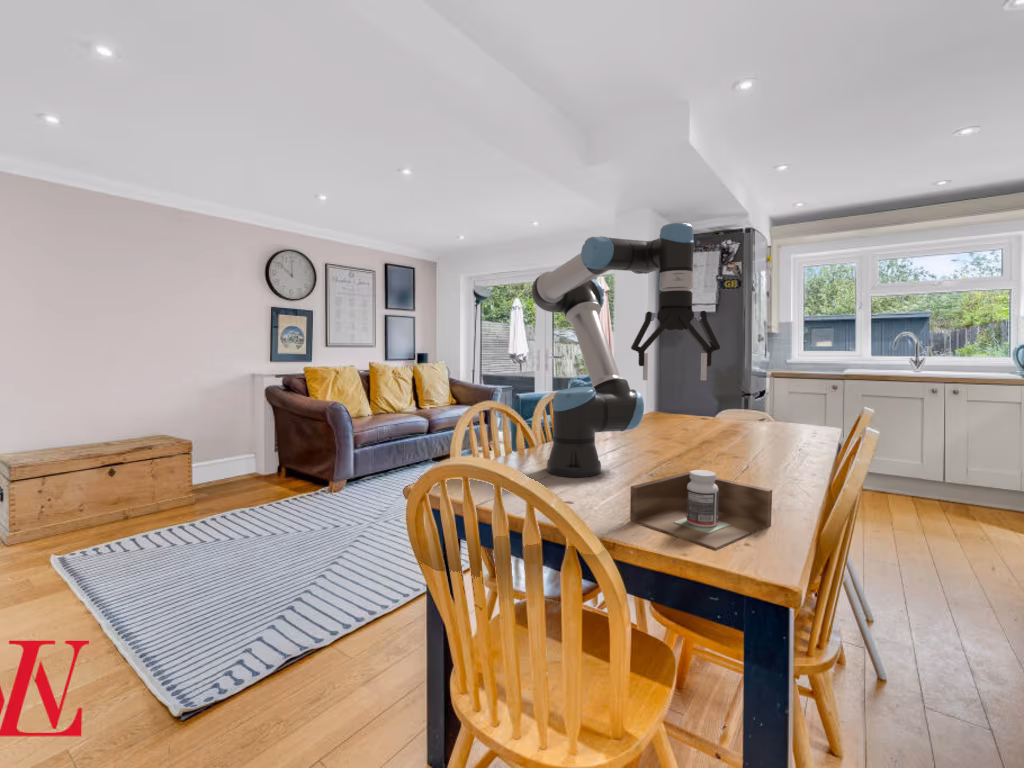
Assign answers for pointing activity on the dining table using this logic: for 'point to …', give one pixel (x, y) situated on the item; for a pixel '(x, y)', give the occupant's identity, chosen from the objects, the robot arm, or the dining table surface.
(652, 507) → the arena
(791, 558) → the dining table surface
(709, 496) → the pill bottle
